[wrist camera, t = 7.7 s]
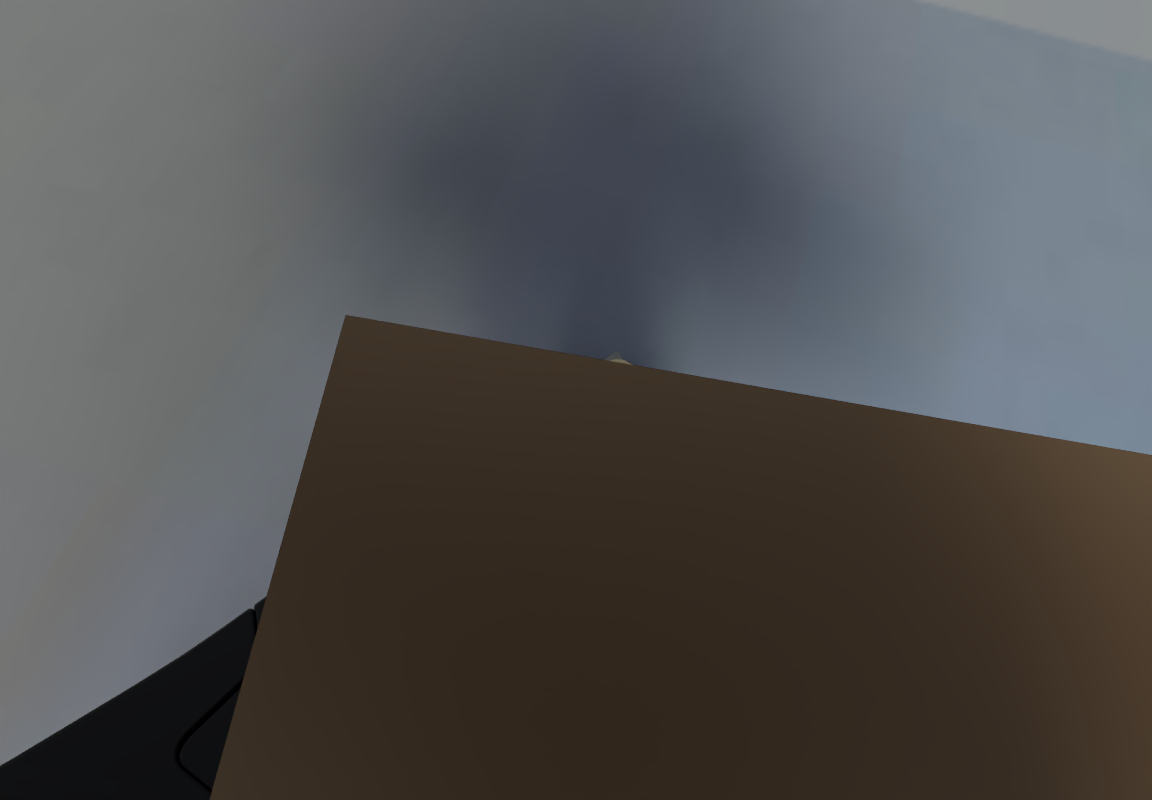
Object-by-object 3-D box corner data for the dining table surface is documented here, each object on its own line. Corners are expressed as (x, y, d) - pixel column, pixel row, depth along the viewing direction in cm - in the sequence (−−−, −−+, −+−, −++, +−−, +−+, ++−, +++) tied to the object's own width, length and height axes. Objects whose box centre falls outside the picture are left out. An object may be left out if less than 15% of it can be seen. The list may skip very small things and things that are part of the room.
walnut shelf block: (676, 694, 15) (1223, 1343, 3) (473, 657, 15) (112, 1140, 3) (696, 528, 16) (1166, 458, 4) (505, 494, 16) (344, 315, 4)
